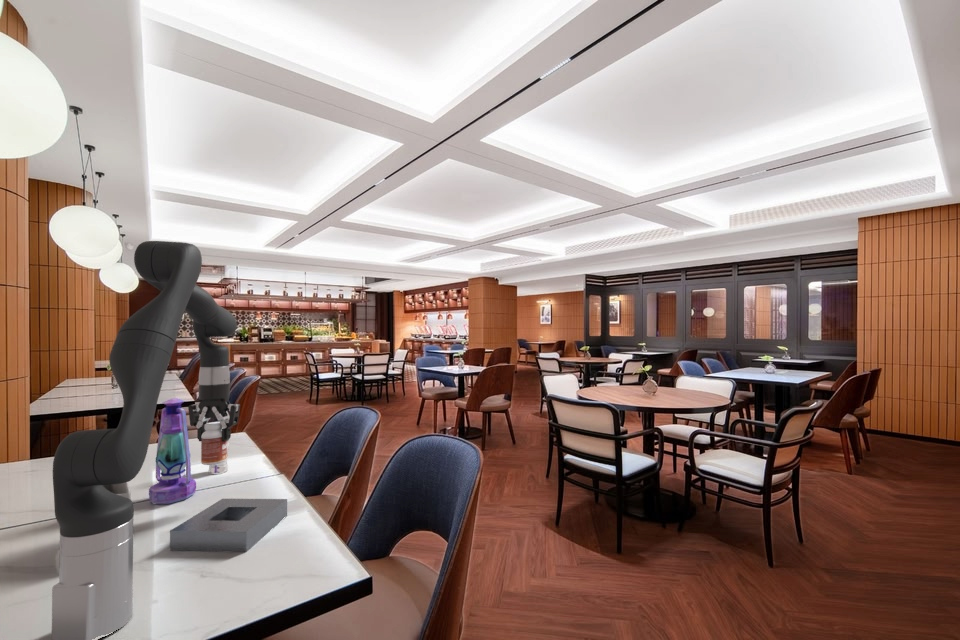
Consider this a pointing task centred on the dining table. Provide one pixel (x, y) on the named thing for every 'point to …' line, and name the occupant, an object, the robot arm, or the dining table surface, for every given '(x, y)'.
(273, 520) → the bore housing
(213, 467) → the beer glass
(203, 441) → the pill bottle
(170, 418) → the lantern
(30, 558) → the dining table surface
